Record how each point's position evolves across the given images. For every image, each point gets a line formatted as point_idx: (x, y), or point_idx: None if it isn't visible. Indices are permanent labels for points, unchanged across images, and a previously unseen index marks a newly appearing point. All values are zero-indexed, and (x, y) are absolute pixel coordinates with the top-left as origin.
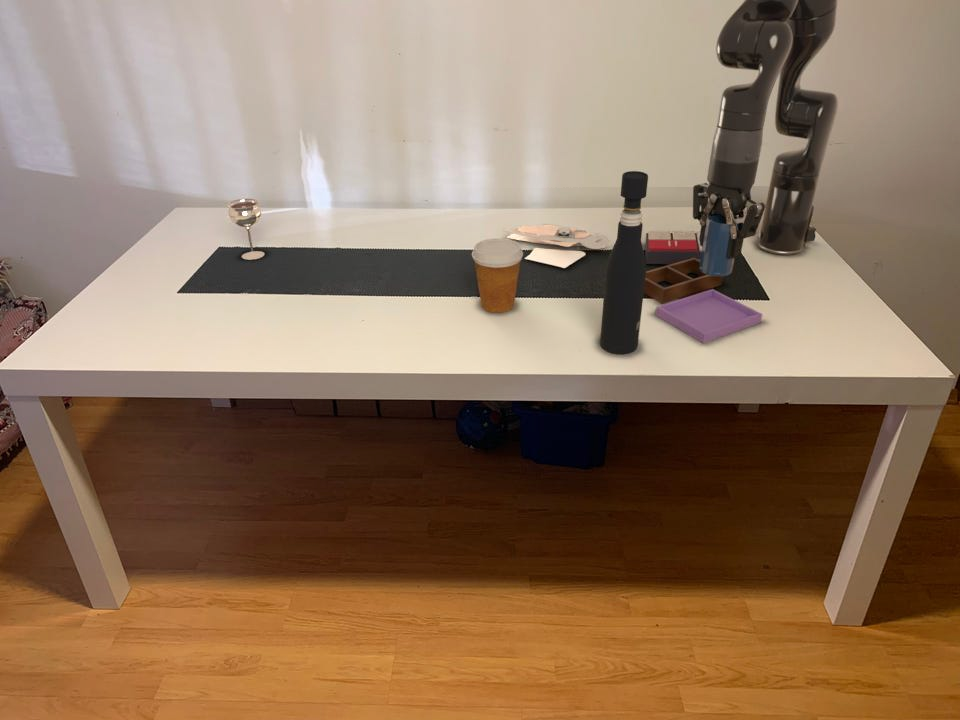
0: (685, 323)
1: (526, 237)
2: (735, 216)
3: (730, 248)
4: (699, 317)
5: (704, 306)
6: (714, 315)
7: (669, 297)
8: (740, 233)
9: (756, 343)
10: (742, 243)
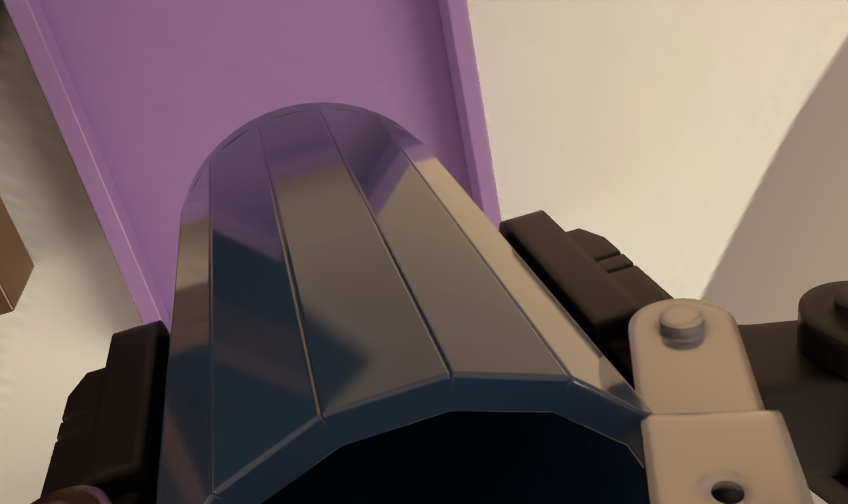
0: None
1: None
2: (423, 417)
3: None
4: None
5: (160, 70)
6: (288, 75)
7: (6, 232)
8: (817, 485)
9: (593, 8)
10: (660, 290)
